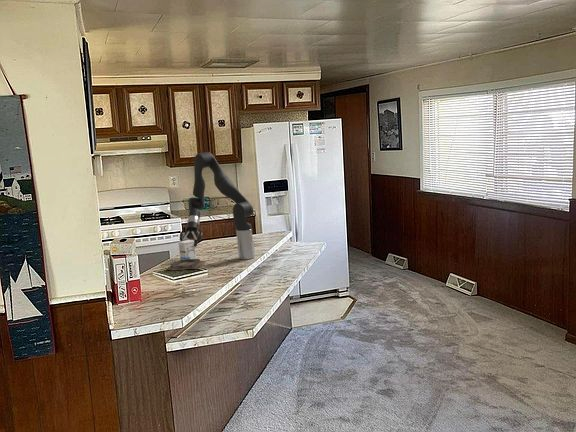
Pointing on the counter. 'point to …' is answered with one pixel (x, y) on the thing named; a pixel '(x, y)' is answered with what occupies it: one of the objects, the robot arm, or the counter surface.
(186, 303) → the counter surface
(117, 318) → the counter surface
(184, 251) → the ink box
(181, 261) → the dock
